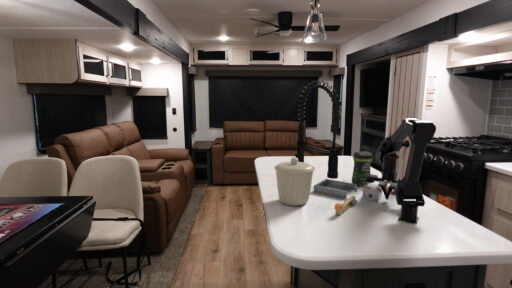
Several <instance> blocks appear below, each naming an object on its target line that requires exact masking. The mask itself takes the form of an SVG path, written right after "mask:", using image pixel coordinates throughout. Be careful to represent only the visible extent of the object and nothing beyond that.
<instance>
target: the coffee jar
mask: <svg viewBox="0 0 512 288" xmlns="http://www.w3.org/2000/svg"><path fill="white" fill-rule="evenodd" d="M352 158H353V169H352V175H351V177H352V178H351V183H353V184H356V187H357V186H358V187H364V186H365V184H366V183H367V182H366V177H367V176H368V175H370V174H371V165H372V161H373V153H372V152H370V151H354V153H353V157H352Z"/></svg>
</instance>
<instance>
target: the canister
mask: <svg viewBox="0 0 512 288" xmlns="http://www.w3.org/2000/svg"><path fill="white" fill-rule="evenodd" d="M273 168H274V171H275V175H276V184H277V185H276V187H277V194H278V199H279V201H280V202H281V203H282V204H284V205H286V206H290V207H291V206H292V207H298V206H304V205H305V204H307V203H308V202H309V199H310V194H311V187H312V181H313V175H314V171H315V167H314V166H312V164H309V163H307V162H302V161H299V158H298V157H294V156H293V157H291V158H290V161H283V162H279V163H278V164H276V165H275V166H274V167H273Z"/></svg>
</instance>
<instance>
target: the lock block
mask: <svg viewBox="0 0 512 288" xmlns="http://www.w3.org/2000/svg"><path fill="white" fill-rule="evenodd" d="M378 185H379V183H377V184H374V183H368V182H367V183H366V184H365V186H362V187H363V188H362V201H366V202H371V203H376V204H378V203H380V201H381V200H382V195H383V190H382V188H381V187H380V186H378Z"/></svg>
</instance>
